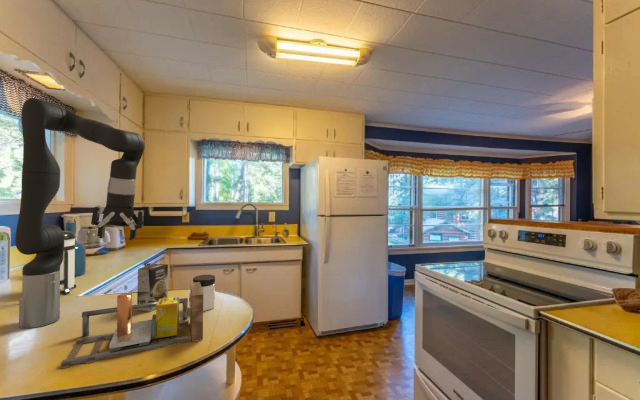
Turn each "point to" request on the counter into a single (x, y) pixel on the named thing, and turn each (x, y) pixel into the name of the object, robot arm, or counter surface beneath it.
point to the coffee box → (152, 284)
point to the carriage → (131, 326)
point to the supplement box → (167, 318)
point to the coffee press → (68, 263)
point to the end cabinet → (196, 311)
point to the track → (100, 339)
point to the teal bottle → (77, 251)
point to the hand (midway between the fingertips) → (116, 238)
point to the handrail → (113, 310)
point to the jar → (207, 290)
